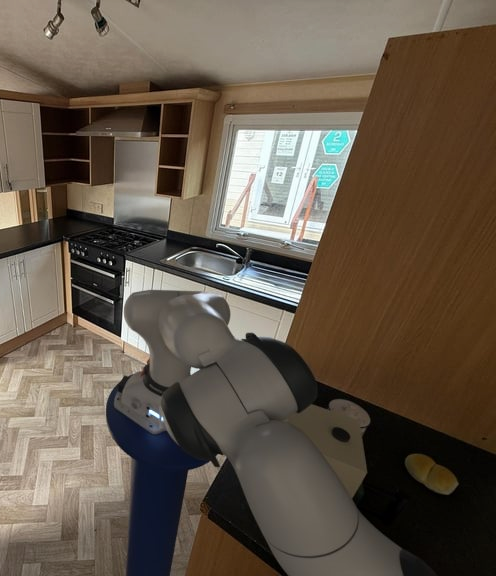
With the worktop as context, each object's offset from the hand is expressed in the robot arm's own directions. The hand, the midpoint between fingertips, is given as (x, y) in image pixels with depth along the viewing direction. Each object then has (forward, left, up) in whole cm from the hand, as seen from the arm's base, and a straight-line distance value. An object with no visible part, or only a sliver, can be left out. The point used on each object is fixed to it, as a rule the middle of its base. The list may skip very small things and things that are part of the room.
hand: (408, 574), depth 53 cm
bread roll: (+11, +31, -7) cm, 34 cm away
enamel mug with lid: (-7, +35, -7) cm, 36 cm away
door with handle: (-10, +16, -5) cm, 19 cm away
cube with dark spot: (-15, +16, -6) cm, 23 cm away
